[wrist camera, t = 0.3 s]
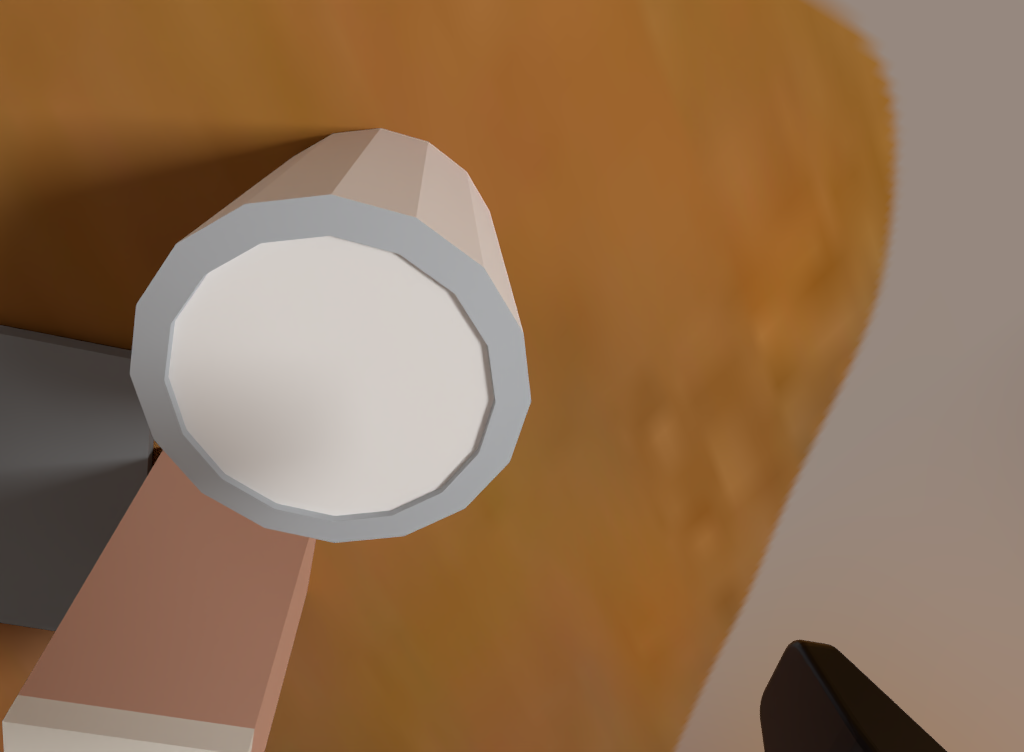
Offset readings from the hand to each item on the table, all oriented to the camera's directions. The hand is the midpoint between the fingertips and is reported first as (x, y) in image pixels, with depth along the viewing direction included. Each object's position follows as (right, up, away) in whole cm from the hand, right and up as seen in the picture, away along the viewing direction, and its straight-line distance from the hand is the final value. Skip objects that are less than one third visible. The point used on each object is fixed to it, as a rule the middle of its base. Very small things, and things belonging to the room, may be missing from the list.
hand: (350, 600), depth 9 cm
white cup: (-2, +5, +13) cm, 14 cm away
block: (-6, -2, +17) cm, 18 cm away
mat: (-13, -1, +16) cm, 20 cm away
